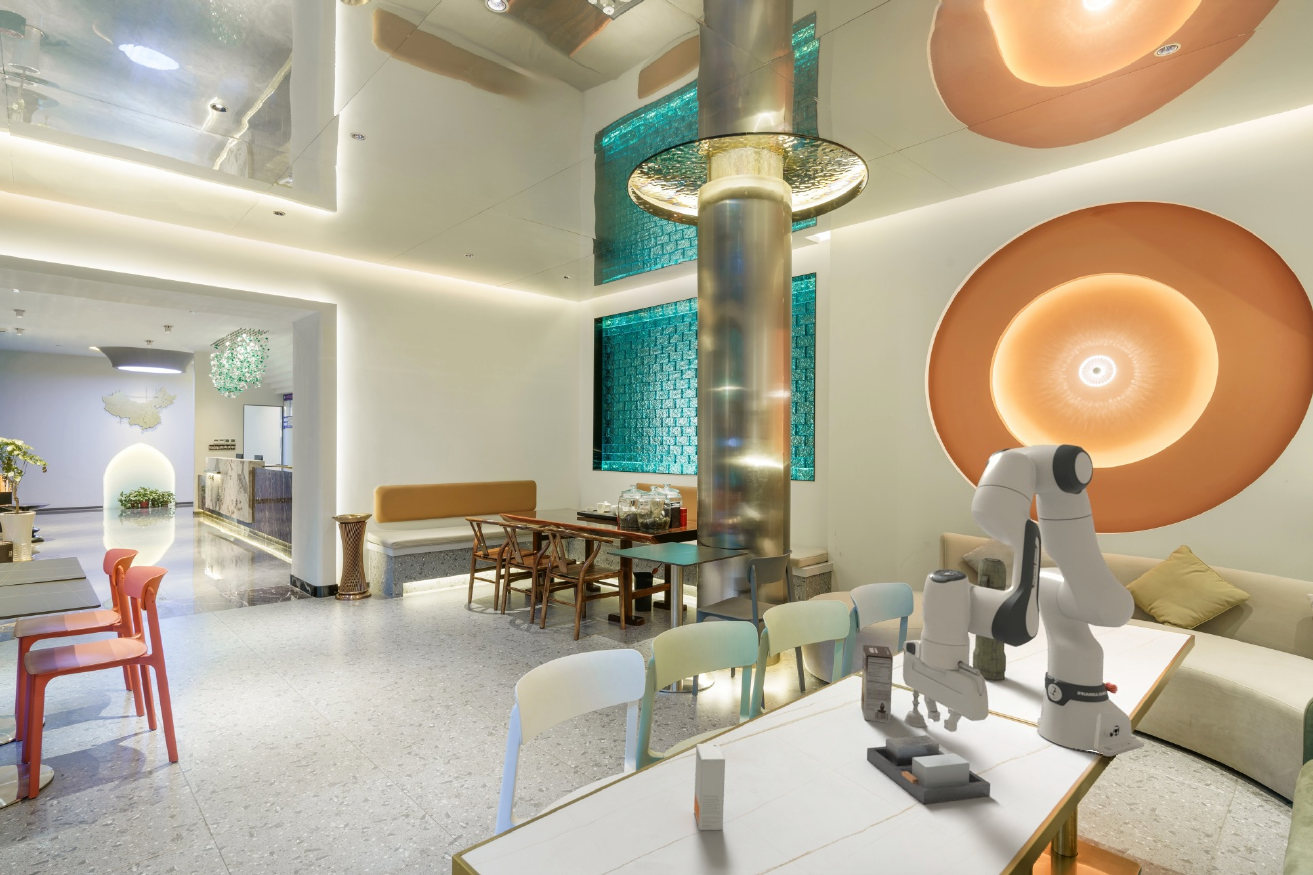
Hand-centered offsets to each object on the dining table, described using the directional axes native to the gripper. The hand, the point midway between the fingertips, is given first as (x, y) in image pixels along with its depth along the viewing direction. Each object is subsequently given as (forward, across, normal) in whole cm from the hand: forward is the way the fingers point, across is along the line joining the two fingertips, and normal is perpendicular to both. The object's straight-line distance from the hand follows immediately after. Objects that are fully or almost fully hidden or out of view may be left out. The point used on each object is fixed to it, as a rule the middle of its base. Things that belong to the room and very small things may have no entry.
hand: (941, 725), depth 129 cm
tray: (+12, +4, 0) cm, 13 cm away
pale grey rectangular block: (+11, 0, 0) cm, 11 cm away
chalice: (+12, +28, -16) cm, 35 cm away
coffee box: (+12, +34, -9) cm, 38 cm away
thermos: (+12, +54, -62) cm, 83 cm away
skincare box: (+12, -2, +49) cm, 51 cm away
